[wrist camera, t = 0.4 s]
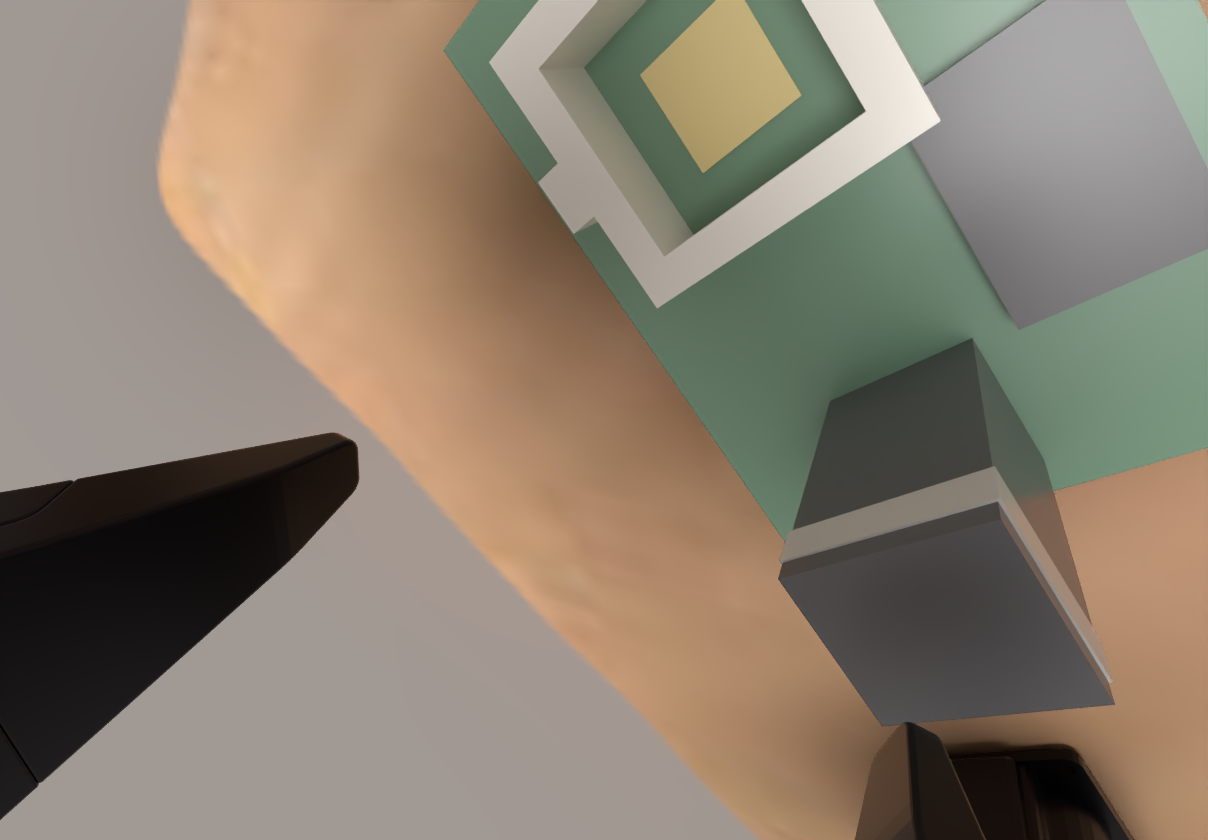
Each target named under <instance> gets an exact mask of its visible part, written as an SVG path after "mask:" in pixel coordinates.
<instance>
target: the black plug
mask: <svg viewBox="0 0 1208 840" xmlns="http://www.w3.org/2000/svg"><path fill="white" fill-rule="evenodd" d="M780 563H781V564H782V568H781V571H780V575H779V578H778V580H779V581H780V582H781V584H782V585H783V587H784V588H785V589H786V591H787V592H788V594H789V595H790V597H791V598H792V599H793V601H794V602H795V604H796V605H797V606H798V608H799V609H800V611H801V612H802V614H803V615H804V616H805V618H806V619H807V621H808V622H809V623H810V625H811V626H812V628H813V629H814V631H815V632H816V633H817V635H818V636H819V638H820V639H821V640H822V642H823V643H824V645H825V646H826V648H827V649H828V650H829V652H830V653H831V655H832V656H833V657H834V659H835V660H836V662H837V663H838V665H839V666H840V667H841V669H842V670H843V672H844V673H845V674H846V676H847V677H848V679H849V680H850V682H851V683H852V684H853V686H854V687H855V689H856V690H857V691H858V693H859V694H860V696H861V697H862V699H863V700H864V701H865V703H866V704H867V706H868V707H869V708H870V710H871V711H872V713H873V714H874V716H875V717H876V718H877V720H878V721H879V723H880V724H881V726H890V725H900V724H902V723H904V722H912V723H922V722H933V721H944V720H955V719H965V718H976V717H987V716H998V715H1009V714H1019V713H1030V712H1041V711H1052V710H1063V709H1073V708H1084V707H1095V706H1106V705H1115V703H1114V700H1113V696H1112V693H1111V689H1110V686H1109V683H1113V681H1112V678H1111V675H1110V671H1109V668H1108V665H1107V661H1106V658H1105V654H1104V651H1103V648H1102V644H1101V641H1100V639H1099V637H1098V635H1097V634H1096V632H1095V630H1094V629H1093V627H1092V623H1091V620H1090V616H1089V613H1088V610H1087V606H1086V603H1085V599H1084V596H1083V592H1082V589H1081V585H1080V582H1079V578H1078V575H1077V571H1076V568H1075V565H1074V561H1073V558H1072V554H1071V551H1070V547H1069V544H1068V540H1067V537H1066V533H1065V530H1064V526H1063V523H1062V520H1061V516H1060V513H1059V509H1058V506H1057V502H1056V499H1055V495H1054V492H1053V488H1052V485H1051V481H1050V478H1049V474H1048V471H1047V468H1046V464H1045V461H1044V459H1043V457H1042V455H1041V453H1040V452H1039V450H1038V448H1037V447H1036V445H1035V443H1034V442H1033V440H1032V438H1031V436H1030V435H1029V433H1028V431H1027V430H1026V428H1025V426H1024V425H1023V423H1022V421H1021V420H1020V418H1019V416H1018V414H1017V413H1016V411H1015V409H1014V408H1013V406H1012V404H1011V403H1010V401H1009V399H1008V397H1007V396H1006V394H1005V392H1004V391H1003V389H1002V387H1001V386H1000V384H999V382H998V380H997V379H996V377H995V375H994V374H993V372H992V370H991V369H990V367H989V365H988V364H987V362H986V360H985V358H984V357H983V355H982V353H981V352H980V350H979V348H978V347H977V345H976V343H975V341H974V340H973V338H971V339H969V340H967V341H964V342H962V343H960V344H958V345H955V346H953V347H951V348H949V349H946V350H944V351H942V352H940V353H937V354H935V355H933V356H931V357H928V358H926V359H924V360H921V361H919V362H917V363H915V364H912V365H910V366H908V367H906V368H903V369H901V370H899V371H897V372H894V373H892V374H890V375H888V376H885V377H883V378H881V379H878V380H876V381H874V382H872V383H869V384H867V385H865V386H863V387H860V388H858V389H856V390H854V391H851V392H849V393H847V394H844V395H842V396H840V397H838V398H835V399H833V400H831V401H830V403H829V406H828V410H827V413H826V416H825V420H824V423H823V427H822V430H821V434H820V437H819V440H818V444H817V447H816V451H815V454H814V458H813V461H812V465H811V468H810V471H809V475H808V478H807V482H806V485H805V489H804V492H803V496H802V499H801V502H800V506H799V509H798V513H797V516H796V520H795V523H794V526H793V530H792V531H789V532H788V535H787V538H786V541H785V545H784V548H783V551H782V555H781V558H780Z"/></svg>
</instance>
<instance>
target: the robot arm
mask: <svg viewBox="0 0 1208 840" xmlns="http://www.w3.org/2000/svg"><path fill="white" fill-rule="evenodd" d="M358 482H359V463H358V447H357V445H356V443H355V442H354V441H352V440H351V439H348V438H346V437H345V436H343V435H341V434H338V433H326V434H320V435H315V436H309V437H304V438H298V439H293V440H288V441H282V442H277V443H271V444H266V445H260V446H255V447H250V448H244V449H239V450H233V451H227V452H222V453H217V454H211V455H205V456H200V457H195V458H189V459H184V460H178V461H173V462H167V463H162V464H156V465H151V466H145V467H140V468H134V469H129V470H123V471H118V472H112V473H107V474H102V475H96V476H91V477H85V478H80V479H77V480H75V481H72V480H68V481H63V482H57V483H52V484H47V485H41V486H35V487H30V488H24V489H18V490H12V491H6V492H0V820H1V819H2V818H3V817H4V816H5V815H6V814H7V813H9V812H10V811H11V810H12V809H13V808H14V807H15V806H16V805H17V804H18V803H20V802H21V801H22V800H23V799H24V798H25V797H26V796H28V795H29V794H30V793H31V792H32V791H33V790H34V789H35V788H37V787H38V785H39V783H41V782H43V781H44V780H45V779H46V778H47V777H48V776H50V775H51V774H52V773H53V772H54V771H55V770H56V769H57V768H58V767H60V766H61V765H62V764H63V763H64V762H65V761H66V760H67V759H68V758H70V757H71V756H72V755H73V754H74V753H75V752H76V751H77V750H79V749H80V748H81V747H82V746H83V745H84V744H85V743H86V742H87V741H88V740H90V739H91V738H92V737H93V736H94V735H95V734H97V733H98V732H99V731H100V730H101V729H102V728H103V727H104V726H105V725H107V723H109V722H110V721H111V720H112V719H113V718H114V717H116V716H117V715H118V714H119V713H120V712H121V711H122V710H123V709H124V708H126V707H127V706H128V705H129V704H130V703H131V702H132V701H133V700H135V699H136V698H137V697H138V696H139V695H140V694H141V693H142V692H143V691H145V690H146V689H147V688H148V687H149V686H150V685H151V684H152V683H153V682H155V681H156V680H157V679H158V678H159V677H160V676H161V675H163V674H164V673H165V672H166V671H167V670H168V669H169V668H170V667H171V666H173V665H174V664H175V663H176V662H177V661H178V660H179V659H180V658H182V657H183V656H184V655H185V654H186V653H187V652H188V651H189V650H191V649H192V648H193V647H194V646H195V645H196V644H197V643H198V642H200V641H201V640H202V639H203V638H204V637H205V636H206V635H207V634H208V633H210V632H211V631H212V630H213V629H214V628H215V627H216V626H217V625H218V624H220V623H221V622H222V621H223V620H224V619H225V618H226V617H227V616H229V615H230V614H231V613H232V612H233V611H234V610H235V609H236V608H238V607H239V606H240V605H241V604H242V603H243V602H244V601H245V600H246V599H248V598H249V597H250V596H251V595H252V594H253V593H254V592H255V591H257V590H258V589H259V588H260V587H261V586H262V585H263V584H264V583H265V582H267V581H268V580H269V579H270V578H271V577H272V576H273V575H274V574H276V573H277V572H278V571H279V570H280V569H281V568H282V567H283V566H284V565H285V564H286V563H288V562H289V561H290V560H291V558H293V557H294V556H295V555H296V554H297V553H298V552H299V551H300V550H301V549H302V548H303V547H304V545H305V544H306V543H307V542H308V541H309V540H310V539H311V538H312V537H313V536H314V534H316V532H317V531H318V530H319V529H320V528H321V527H322V526H323V525H324V524H325V523H326V522H327V520H328V519H329V518H330V517H331V516H332V515H333V514H334V513H335V512H336V511H337V510H338V508H340V506H341V505H342V504H343V503H344V502H345V501H346V500H347V499H348V498H349V497H350V496H351V494H352V493H353V492H354V491H355V489H356V487H357V485H358ZM855 840H1134V839H1133V838H1132V836H1131V835H1130V833H1129V832H1128V830H1127V828H1126V827H1125V825H1124V824H1123V822H1122V821H1121V819H1120V817H1119V816H1118V814H1117V813H1116V811H1115V810H1114V808H1113V807H1112V805H1111V803H1110V802H1109V800H1108V799H1107V797H1106V796H1105V794H1104V792H1103V791H1102V789H1101V788H1100V786H1099V785H1098V783H1097V782H1096V780H1095V778H1094V777H1093V775H1092V774H1091V772H1090V771H1089V769H1088V768H1087V766H1086V764H1085V763H1084V761H1083V760H1082V758H1081V757H1080V756H1079V755H1078V754H1076V753H1074V752H1073V751H1069V750H1066V749H1050V750H1033V751H1016V752H999V753H982V754H965V755H948V754H947V751H946V749H945V747H944V745H943V743H942V741H941V740H940V739H939V737H938V736H937V735H935V734H933V733H931V732H929V731H927V730H925V729H924V728H922V727H920V726H918V725H916V724H914V723H912V722H904V723H902V724H901V725H900V726H899V727H898V728H897V729H896V731H895V732H894V733H893V734H892V735H891V737H890V738H889V739H888V740H887V741H886V743H885V744H884V745H883V746H882V748H881V749H880V750H879V751H878V753H877V754H876V756H875V758H874V760H873V763H872V766H871V770H870V774H869V778H868V783H867V787H866V792H865V796H864V801H863V805H862V810H861V814H860V819H859V823H858V828H857V832H856V837H855Z"/></svg>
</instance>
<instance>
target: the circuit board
mask: <svg viewBox="0 0 1208 840" xmlns="http://www.w3.org/2000/svg"><path fill="white" fill-rule="evenodd" d="M444 52H445V53H446V55H447V56H448V57H449V59H450V60H451V62H452V63H453V65H454V66H455V68H456V69H457V70H458V72H459V73H460V75H461V76H462V78H463V79H464V80H465V82H466V83H467V85H468V86H469V88H470V89H471V91H472V92H473V93H474V95H475V96H476V98H477V99H478V101H479V102H480V104H481V105H482V106H483V108H484V109H485V111H486V112H487V114H488V115H489V116H490V118H491V119H492V121H493V122H494V124H495V125H496V127H497V128H498V129H499V131H500V132H501V134H502V135H503V137H504V138H505V140H506V141H507V142H508V144H509V145H510V147H511V148H512V150H513V151H514V152H515V154H516V155H517V157H518V158H519V160H520V161H521V163H522V164H523V165H524V167H525V168H526V170H527V171H528V173H529V174H530V176H531V177H532V178H533V180H534V181H535V183H536V184H537V186H538V187H539V188H540V190H541V191H542V193H543V194H544V196H545V197H546V199H547V200H548V201H549V203H550V204H551V206H552V207H553V209H554V210H555V212H556V213H557V214H558V216H559V217H560V219H561V220H562V222H563V223H564V224H565V226H566V227H567V229H568V230H569V232H570V233H571V235H572V236H573V237H574V239H575V240H576V242H577V243H578V245H579V246H580V248H581V249H582V250H583V252H584V253H585V255H586V256H587V258H588V259H589V261H590V262H591V263H592V265H593V266H594V268H595V269H596V271H597V272H598V273H599V275H600V276H601V278H602V279H603V281H604V282H605V284H606V285H607V286H608V288H609V289H610V291H611V292H612V294H613V295H614V297H615V298H616V299H617V301H618V302H619V304H620V305H621V307H622V308H623V309H624V311H625V312H626V314H627V315H628V317H629V318H630V320H631V321H632V322H633V324H634V325H635V327H636V328H637V330H638V331H639V333H640V334H641V335H642V337H643V338H644V340H645V341H646V343H647V344H648V345H649V347H650V348H651V350H652V351H653V353H654V354H655V356H656V357H657V358H658V360H659V361H660V363H661V364H662V366H663V367H664V369H665V370H666V371H667V373H668V374H669V376H670V377H671V379H672V380H673V381H674V383H675V384H676V386H677V387H678V389H679V390H680V392H681V393H682V394H683V396H684V397H685V399H686V400H687V402H688V403H689V405H690V406H691V407H692V409H693V410H694V412H695V413H696V415H697V416H698V417H699V419H700V420H701V422H702V423H703V425H704V426H705V428H706V429H707V430H708V432H709V433H710V435H711V436H712V438H713V439H714V441H715V442H716V443H717V445H718V446H719V448H720V449H721V451H722V452H723V453H724V455H725V456H726V458H727V459H728V461H729V462H730V464H731V465H732V466H733V468H734V469H735V471H736V472H737V474H738V475H739V477H740V478H741V479H742V481H743V482H744V484H745V485H746V487H747V488H748V490H749V491H750V492H751V494H752V495H753V497H754V498H755V500H756V501H757V502H758V504H759V505H760V507H761V508H762V510H763V511H764V513H765V514H766V515H767V517H768V518H769V520H770V521H771V523H772V524H773V526H774V527H775V528H776V530H777V531H778V533H779V534H780V536H781V537H782V538H783V540H784V541H786V538H787V535H788V532H789V531H792V530H793V526H794V523H795V520H796V516H797V513H798V509H799V506H800V502H801V499H802V496H803V492H804V489H805V485H806V482H807V478H808V475H809V471H810V468H811V465H812V461H813V458H814V454H815V451H816V447H817V444H818V440H819V437H820V434H821V430H822V427H823V423H824V420H825V416H826V413H827V410H828V406H829V403H830V401H831V400H833V399H835V398H838V397H840V396H842V395H844V394H847V393H849V392H851V391H854V390H856V389H858V388H860V387H863V386H865V385H867V384H869V383H872V382H874V381H876V380H878V379H881V378H883V377H885V376H888V375H890V374H892V373H894V372H897V371H899V370H901V369H903V368H906V367H908V366H910V365H912V364H915V363H917V362H919V361H921V360H924V359H926V358H928V357H931V356H933V355H935V354H937V353H940V352H942V351H944V350H946V349H949V348H951V347H953V346H955V345H958V344H960V343H962V342H964V341H967V340H969V339H971V338H973V340H974V341H975V343H976V345H977V347H978V348H979V350H980V352H981V353H982V355H983V357H984V358H985V360H986V362H987V364H988V365H989V367H990V369H991V370H992V372H993V374H994V375H995V377H996V379H997V380H998V382H999V384H1000V386H1001V387H1002V389H1003V391H1004V392H1005V394H1006V396H1007V397H1008V399H1009V401H1010V403H1011V404H1012V406H1013V408H1014V409H1015V411H1016V413H1017V414H1018V416H1019V418H1020V420H1021V421H1022V423H1023V425H1024V426H1025V428H1026V430H1027V431H1028V433H1029V435H1030V436H1031V438H1032V440H1033V442H1034V443H1035V445H1036V447H1037V448H1038V450H1039V452H1040V453H1041V455H1042V457H1043V459H1044V461H1045V464H1046V468H1047V471H1048V474H1049V478H1050V481H1051V485H1052V488H1053V491H1056V490H1059V489H1063V488H1066V487H1070V486H1073V485H1077V484H1081V483H1084V482H1088V481H1091V480H1095V479H1098V478H1102V477H1106V476H1109V475H1113V474H1116V473H1120V472H1123V471H1127V470H1131V469H1134V468H1138V467H1141V466H1145V465H1148V464H1152V463H1156V462H1159V461H1163V460H1166V459H1170V458H1173V457H1177V456H1181V455H1184V454H1188V453H1191V452H1195V451H1198V450H1202V449H1206V448H1208V21H1207V19H1206V16H1205V14H1204V12H1203V10H1202V8H1201V6H1200V4H1199V1H1198V0H480V1H479V2H478V3H477V5H476V6H475V7H474V9H473V10H472V12H471V13H470V14H469V16H468V17H467V18H466V20H465V21H464V23H463V24H462V25H461V27H460V28H459V29H458V31H457V32H456V34H455V35H454V36H453V38H452V39H451V40H450V42H449V43H448V45H447V46H446V47H445V49H444Z"/></svg>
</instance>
